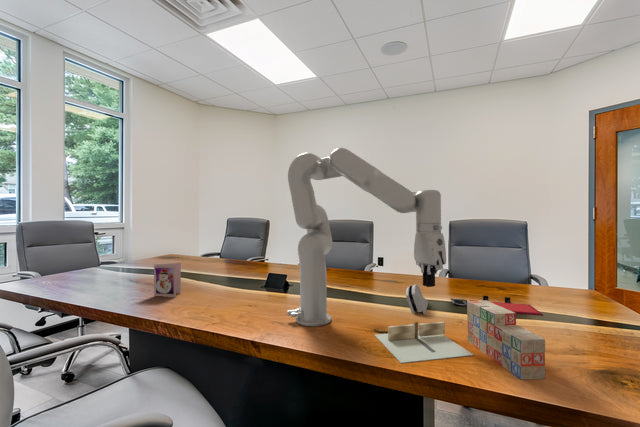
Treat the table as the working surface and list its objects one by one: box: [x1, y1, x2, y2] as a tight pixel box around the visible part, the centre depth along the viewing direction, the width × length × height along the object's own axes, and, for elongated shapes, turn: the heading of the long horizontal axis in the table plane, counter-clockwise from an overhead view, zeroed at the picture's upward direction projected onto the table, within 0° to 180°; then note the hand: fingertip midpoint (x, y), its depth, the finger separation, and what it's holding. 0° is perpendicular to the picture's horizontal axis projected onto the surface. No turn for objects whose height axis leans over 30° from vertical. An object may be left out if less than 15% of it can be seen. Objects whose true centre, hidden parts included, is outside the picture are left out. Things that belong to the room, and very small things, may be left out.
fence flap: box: [418, 321, 446, 337], centre depth 91 cm, size 8×1×4 cm, turn 101°
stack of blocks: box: [466, 300, 546, 381], centre depth 78 cm, size 21×6×12 cm, turn 4°
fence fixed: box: [387, 321, 419, 341], centre depth 89 cm, size 10×1×5 cm, turn 101°
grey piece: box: [405, 284, 429, 316], centre depth 121 cm, size 17×5×10 cm, turn 156°
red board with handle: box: [450, 295, 543, 316], centre depth 122 cm, size 30×3×15 cm
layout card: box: [374, 330, 474, 364], centre depth 86 cm, size 21×18×1 cm
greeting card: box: [153, 262, 182, 298], centre depth 141 cm, size 11×7×15 cm, turn 80°
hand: (428, 285), depth 94 cm, fingers closed
